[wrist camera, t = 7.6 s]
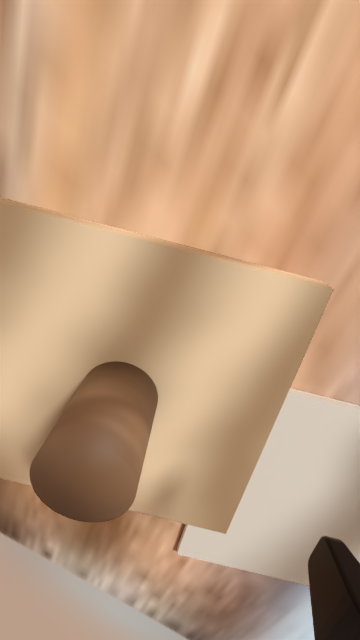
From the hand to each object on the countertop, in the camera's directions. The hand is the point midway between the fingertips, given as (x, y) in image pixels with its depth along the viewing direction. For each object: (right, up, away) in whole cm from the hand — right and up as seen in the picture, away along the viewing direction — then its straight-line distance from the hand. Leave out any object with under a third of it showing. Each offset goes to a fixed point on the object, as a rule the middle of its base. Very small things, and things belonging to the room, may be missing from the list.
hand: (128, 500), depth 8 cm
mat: (+11, -8, +16) cm, 21 cm away
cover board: (-1, +1, +7) cm, 7 cm away
